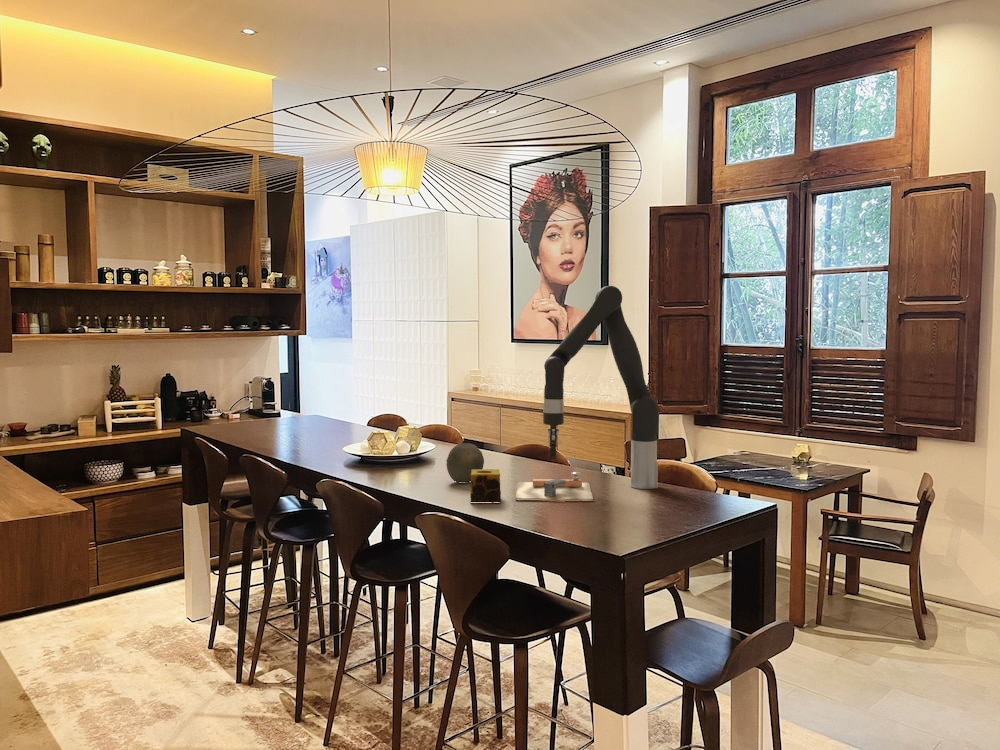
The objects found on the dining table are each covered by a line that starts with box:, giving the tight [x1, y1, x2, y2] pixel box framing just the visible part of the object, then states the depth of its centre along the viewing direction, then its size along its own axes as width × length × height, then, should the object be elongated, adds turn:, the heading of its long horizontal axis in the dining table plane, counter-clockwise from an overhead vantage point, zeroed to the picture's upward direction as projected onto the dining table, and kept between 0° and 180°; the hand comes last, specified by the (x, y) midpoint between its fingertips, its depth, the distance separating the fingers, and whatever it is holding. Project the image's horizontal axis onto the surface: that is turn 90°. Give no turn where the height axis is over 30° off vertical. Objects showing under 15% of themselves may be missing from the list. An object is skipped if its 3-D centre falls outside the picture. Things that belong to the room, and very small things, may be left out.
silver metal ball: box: [570, 471, 582, 480], centre depth 275 cm, size 3×3×3 cm
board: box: [515, 481, 594, 502], centre depth 270 cm, size 26×28×1 cm
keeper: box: [544, 478, 566, 497], centre depth 262 cm, size 8×4×4 cm, turn 147°
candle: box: [469, 468, 502, 502], centre depth 257 cm, size 10×10×10 cm
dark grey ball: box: [446, 442, 485, 483], centre depth 287 cm, size 14×14×15 cm
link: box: [532, 478, 583, 487], centre depth 276 cm, size 18×4×2 cm, turn 87°
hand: (552, 458), depth 280 cm, fingers closed
